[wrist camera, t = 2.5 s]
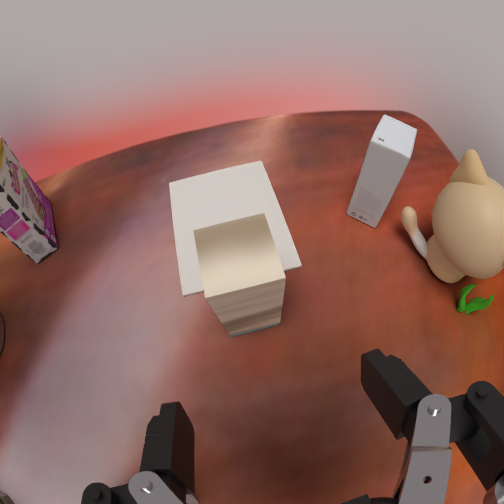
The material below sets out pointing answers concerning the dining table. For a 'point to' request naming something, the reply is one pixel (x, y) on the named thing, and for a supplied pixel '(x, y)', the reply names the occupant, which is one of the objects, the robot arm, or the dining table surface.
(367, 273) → the dining table surface
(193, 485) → the robot arm
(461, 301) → the kitten
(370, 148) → the skincare box
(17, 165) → the candy bar box
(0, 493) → the book lectern
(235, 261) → the birch block
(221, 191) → the mat
